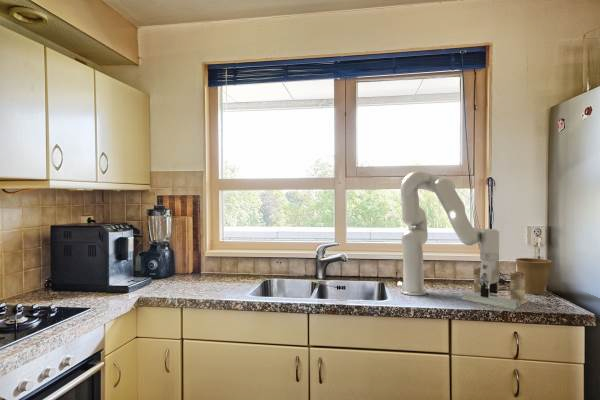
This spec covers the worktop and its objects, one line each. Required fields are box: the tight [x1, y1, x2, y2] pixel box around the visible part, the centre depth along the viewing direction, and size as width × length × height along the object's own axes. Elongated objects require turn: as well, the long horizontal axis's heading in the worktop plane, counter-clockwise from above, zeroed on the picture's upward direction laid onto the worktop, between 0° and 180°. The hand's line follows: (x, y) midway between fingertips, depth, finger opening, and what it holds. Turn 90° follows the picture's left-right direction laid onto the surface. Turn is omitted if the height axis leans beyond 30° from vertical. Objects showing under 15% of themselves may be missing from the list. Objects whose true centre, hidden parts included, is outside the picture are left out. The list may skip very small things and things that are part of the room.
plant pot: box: [515, 257, 552, 295], centre depth 182 cm, size 15×15×16 cm
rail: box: [463, 289, 518, 307], centre depth 166 cm, size 22×3×3 cm, turn 42°
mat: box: [461, 296, 521, 310], centre depth 166 cm, size 22×8×1 cm, turn 42°
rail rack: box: [473, 266, 529, 305], centre depth 173 cm, size 22×8×13 cm, turn 42°
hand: (488, 295), depth 166 cm, fingers open, 9 cm apart
